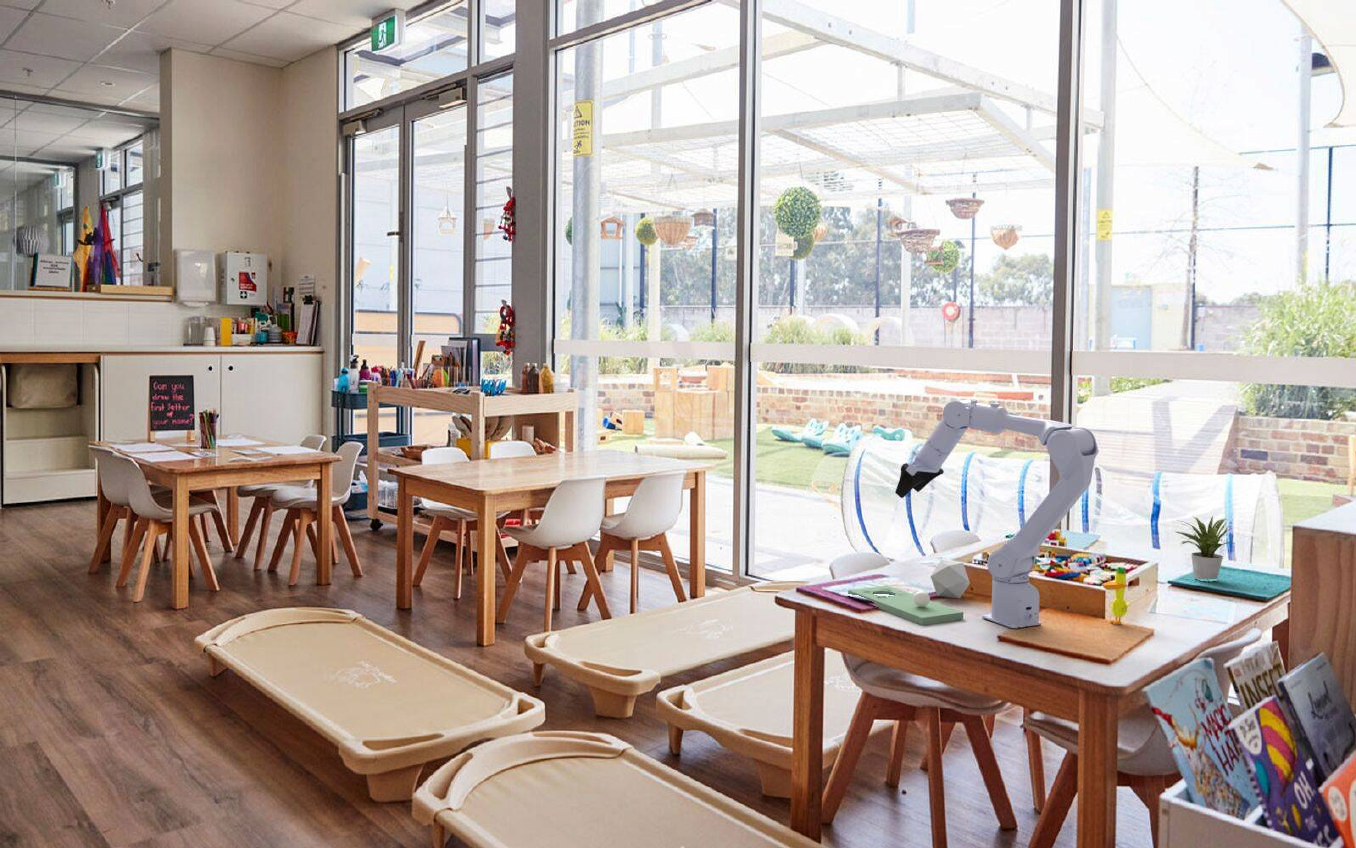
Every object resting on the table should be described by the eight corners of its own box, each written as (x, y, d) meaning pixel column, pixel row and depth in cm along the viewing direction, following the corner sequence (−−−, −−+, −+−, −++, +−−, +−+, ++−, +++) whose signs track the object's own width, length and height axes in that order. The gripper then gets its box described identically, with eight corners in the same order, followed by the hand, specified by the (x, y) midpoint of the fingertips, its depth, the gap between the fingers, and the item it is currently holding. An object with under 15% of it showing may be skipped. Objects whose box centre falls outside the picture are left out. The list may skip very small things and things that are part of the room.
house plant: (1191, 570, 279) (1194, 507, 278) (1247, 580, 268) (1250, 515, 267) (1164, 577, 270) (1167, 512, 269) (1221, 588, 259) (1224, 521, 258)
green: (963, 619, 229) (963, 612, 229) (922, 625, 224) (922, 618, 224) (886, 591, 252) (887, 585, 252) (847, 596, 247) (848, 590, 247)
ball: (933, 608, 232) (933, 592, 231) (920, 610, 230) (920, 593, 230) (922, 604, 235) (922, 588, 234) (909, 606, 233) (910, 590, 233)
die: (973, 597, 251) (954, 560, 255) (979, 586, 243) (959, 548, 247) (940, 610, 250) (922, 572, 254) (946, 600, 242) (926, 561, 246)
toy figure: (1107, 627, 224) (1109, 570, 223) (1095, 622, 227) (1098, 566, 226) (1134, 624, 226) (1137, 568, 225) (1123, 620, 229) (1125, 564, 228)
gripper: (939, 430, 245) (908, 475, 251) (910, 439, 234) (878, 486, 240) (963, 449, 242) (931, 495, 248) (934, 459, 230) (902, 506, 237)
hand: (907, 492), depth 244 cm, fingers open, 7 cm apart
